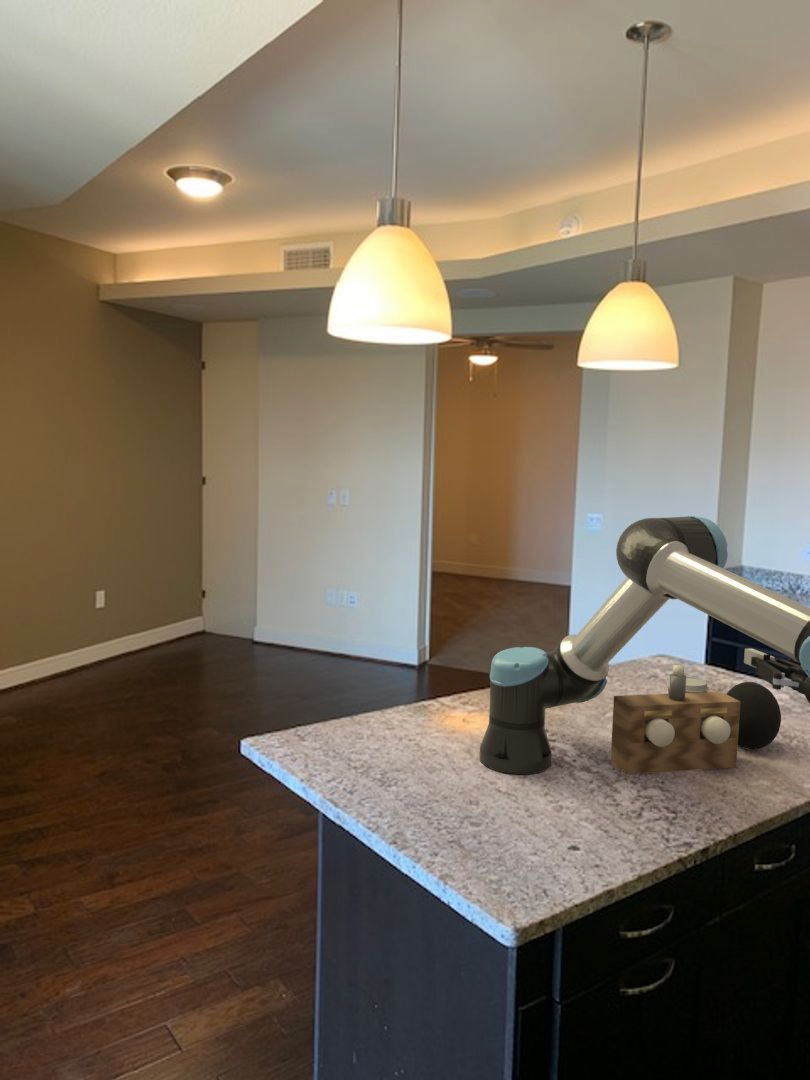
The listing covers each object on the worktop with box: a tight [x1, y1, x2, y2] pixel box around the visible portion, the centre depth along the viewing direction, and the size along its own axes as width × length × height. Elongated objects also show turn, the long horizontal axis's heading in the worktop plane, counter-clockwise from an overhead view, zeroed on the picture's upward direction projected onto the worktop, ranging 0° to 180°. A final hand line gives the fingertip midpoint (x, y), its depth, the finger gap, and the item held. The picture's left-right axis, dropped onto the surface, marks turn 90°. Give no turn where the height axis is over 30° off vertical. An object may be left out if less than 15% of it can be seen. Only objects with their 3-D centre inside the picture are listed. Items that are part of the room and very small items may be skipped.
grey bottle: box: [668, 664, 687, 701], centre depth 163 cm, size 3×3×7 cm
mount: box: [610, 691, 741, 775], centre depth 164 cm, size 25×7×14 cm, turn 101°
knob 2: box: [700, 715, 731, 744], centre depth 167 cm, size 5×15×5 cm, turn 11°
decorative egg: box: [726, 681, 782, 751], centre depth 175 cm, size 12×12×15 cm
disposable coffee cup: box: [665, 675, 710, 694], centre depth 186 cm, size 10×10×12 cm
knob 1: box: [645, 718, 675, 747], centre depth 164 cm, size 5×15×5 cm, turn 11°
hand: (748, 655), depth 145 cm, fingers closed
